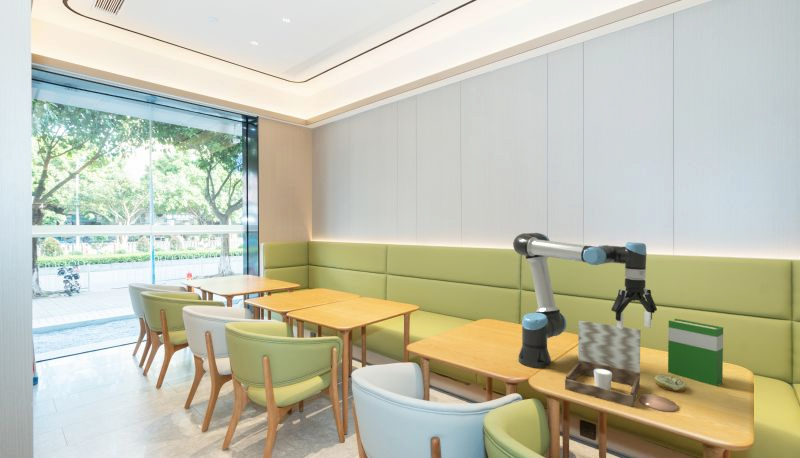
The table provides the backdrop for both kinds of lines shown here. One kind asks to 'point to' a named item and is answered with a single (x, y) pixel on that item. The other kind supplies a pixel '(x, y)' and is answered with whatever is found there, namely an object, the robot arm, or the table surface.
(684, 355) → the hardback book
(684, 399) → the table surface
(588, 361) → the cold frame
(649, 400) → the terracotta saucer
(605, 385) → the shot glass
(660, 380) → the decorated donut
